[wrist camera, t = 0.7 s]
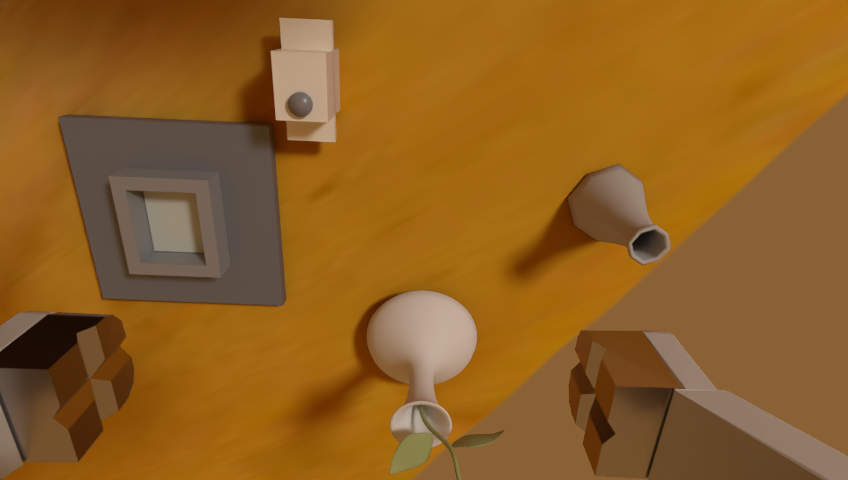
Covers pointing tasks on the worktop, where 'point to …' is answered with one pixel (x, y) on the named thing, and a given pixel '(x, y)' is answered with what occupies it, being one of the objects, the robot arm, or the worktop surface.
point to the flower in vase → (423, 369)
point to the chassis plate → (179, 208)
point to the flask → (618, 213)
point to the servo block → (307, 79)
